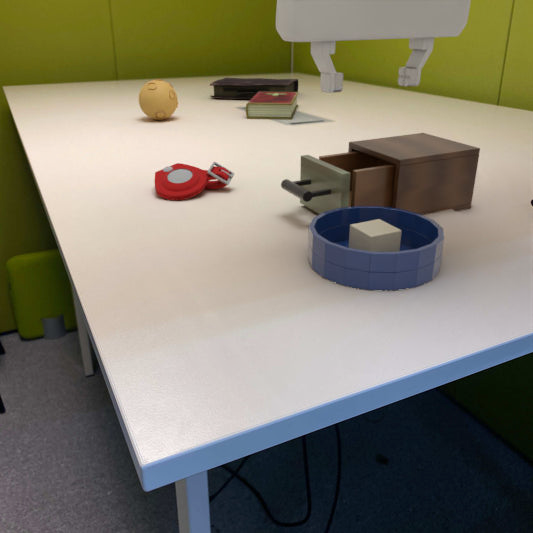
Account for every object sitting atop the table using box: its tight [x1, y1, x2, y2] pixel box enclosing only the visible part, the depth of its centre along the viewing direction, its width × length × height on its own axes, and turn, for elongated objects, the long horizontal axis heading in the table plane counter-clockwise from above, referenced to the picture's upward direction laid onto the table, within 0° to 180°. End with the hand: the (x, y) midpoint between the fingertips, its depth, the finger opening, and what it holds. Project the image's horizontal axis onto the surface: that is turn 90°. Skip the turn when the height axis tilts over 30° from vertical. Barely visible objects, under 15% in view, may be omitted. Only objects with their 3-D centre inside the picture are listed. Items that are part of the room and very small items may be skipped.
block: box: [349, 219, 402, 252], centre depth 60 cm, size 4×4×4 cm
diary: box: [209, 77, 299, 100], centre depth 177 cm, size 19×25×5 cm
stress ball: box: [138, 78, 179, 121], centre depth 140 cm, size 10×10×10 cm
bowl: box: [307, 206, 445, 292], centre depth 60 cm, size 14×14×4 cm
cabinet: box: [347, 132, 481, 216], centre depth 78 cm, size 14×12×9 cm
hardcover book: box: [245, 91, 299, 120], centre depth 151 cm, size 12×21×4 cm, turn 173°
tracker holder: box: [154, 161, 235, 201], centre depth 87 cm, size 12×4×10 cm
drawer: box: [280, 151, 396, 215], centre depth 74 cm, size 17×10×7 cm, turn 116°
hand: (371, 88), depth 55 cm, fingers open, 8 cm apart
